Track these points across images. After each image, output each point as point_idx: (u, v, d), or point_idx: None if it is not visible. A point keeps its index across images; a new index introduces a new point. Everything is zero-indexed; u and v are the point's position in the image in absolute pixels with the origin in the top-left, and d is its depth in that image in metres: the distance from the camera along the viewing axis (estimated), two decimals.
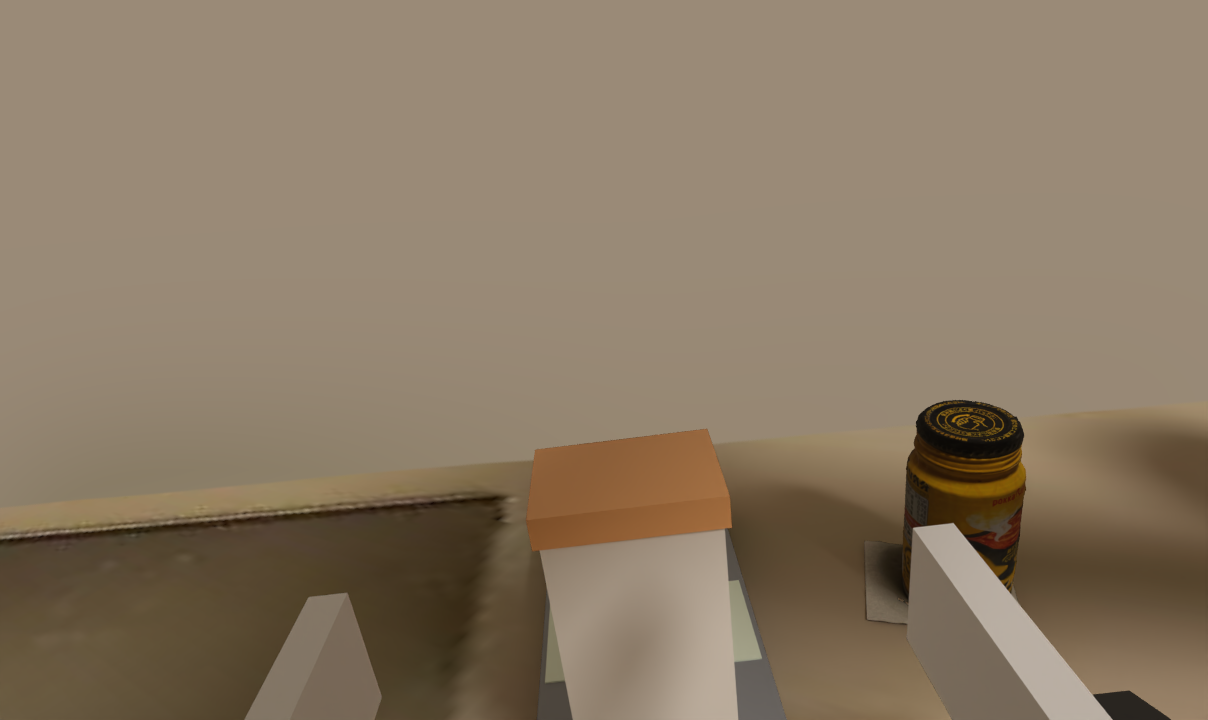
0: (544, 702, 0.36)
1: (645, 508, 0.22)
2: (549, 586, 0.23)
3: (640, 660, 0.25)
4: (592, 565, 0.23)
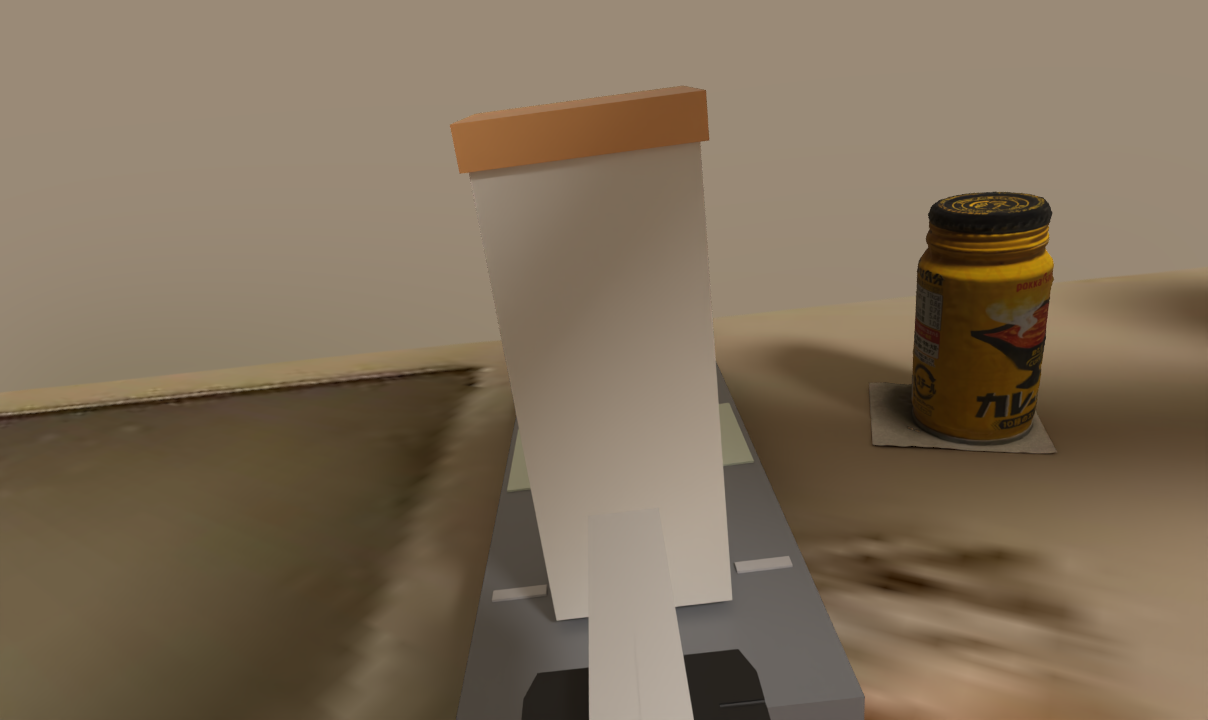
0: (505, 506, 0.31)
1: (600, 109, 0.18)
2: (484, 233, 0.19)
3: (600, 347, 0.20)
4: (537, 201, 0.19)
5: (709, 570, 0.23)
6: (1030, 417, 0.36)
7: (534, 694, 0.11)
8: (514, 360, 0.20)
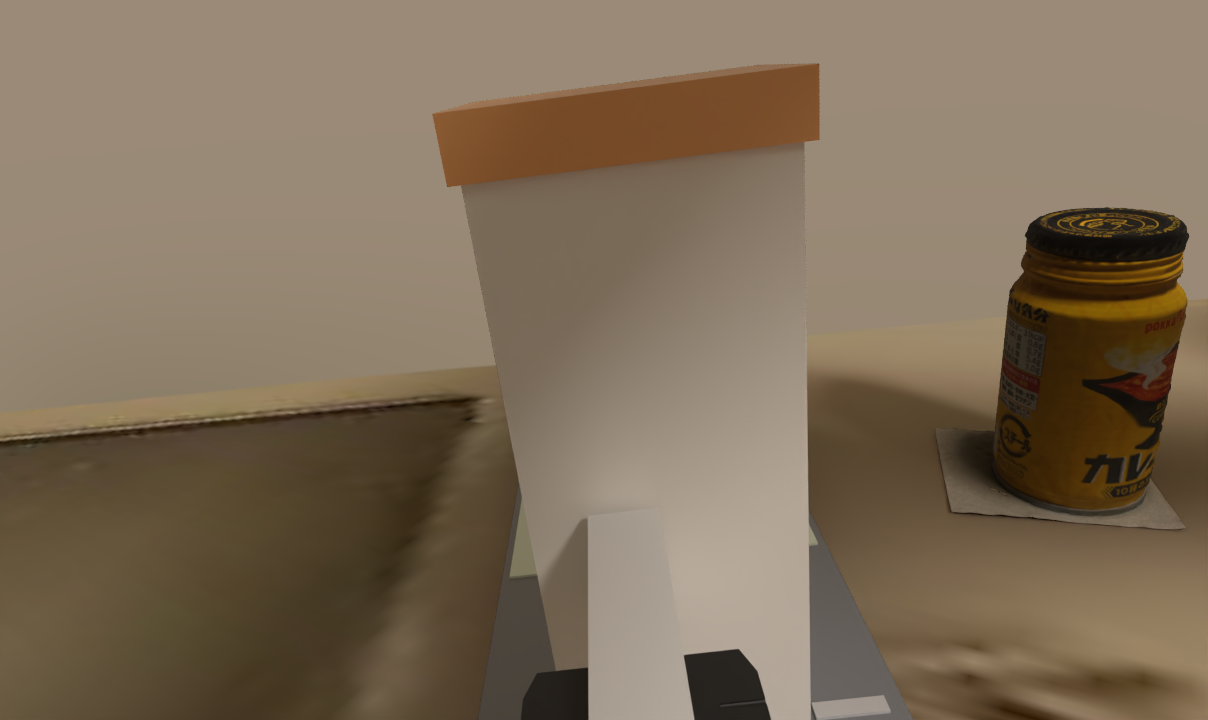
0: (507, 600, 0.25)
1: (658, 92, 0.12)
2: (483, 273, 0.13)
3: (646, 432, 0.14)
4: (560, 228, 0.13)
5: (782, 716, 0.17)
6: (1147, 482, 0.30)
7: (534, 693, 0.11)
8: (525, 448, 0.14)
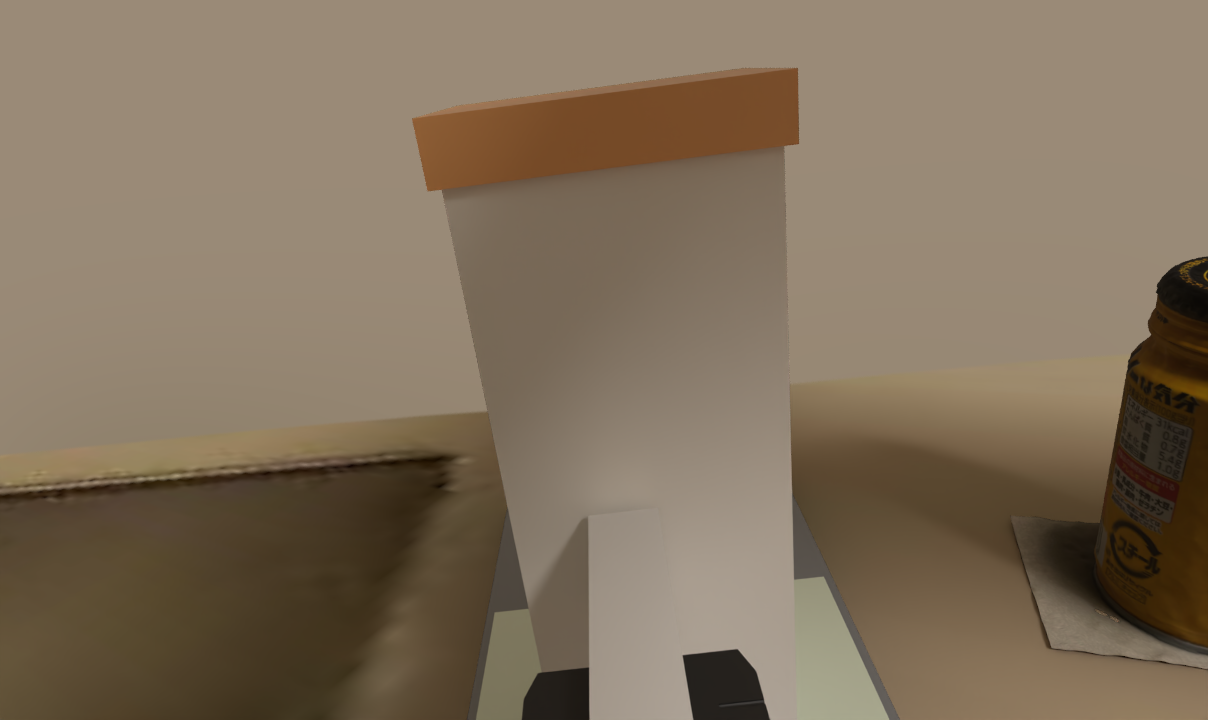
0: None
1: (637, 96, 0.12)
2: (465, 277, 0.13)
3: (629, 435, 0.14)
4: (541, 232, 0.13)
5: None
6: None
7: (534, 694, 0.11)
8: (508, 452, 0.14)
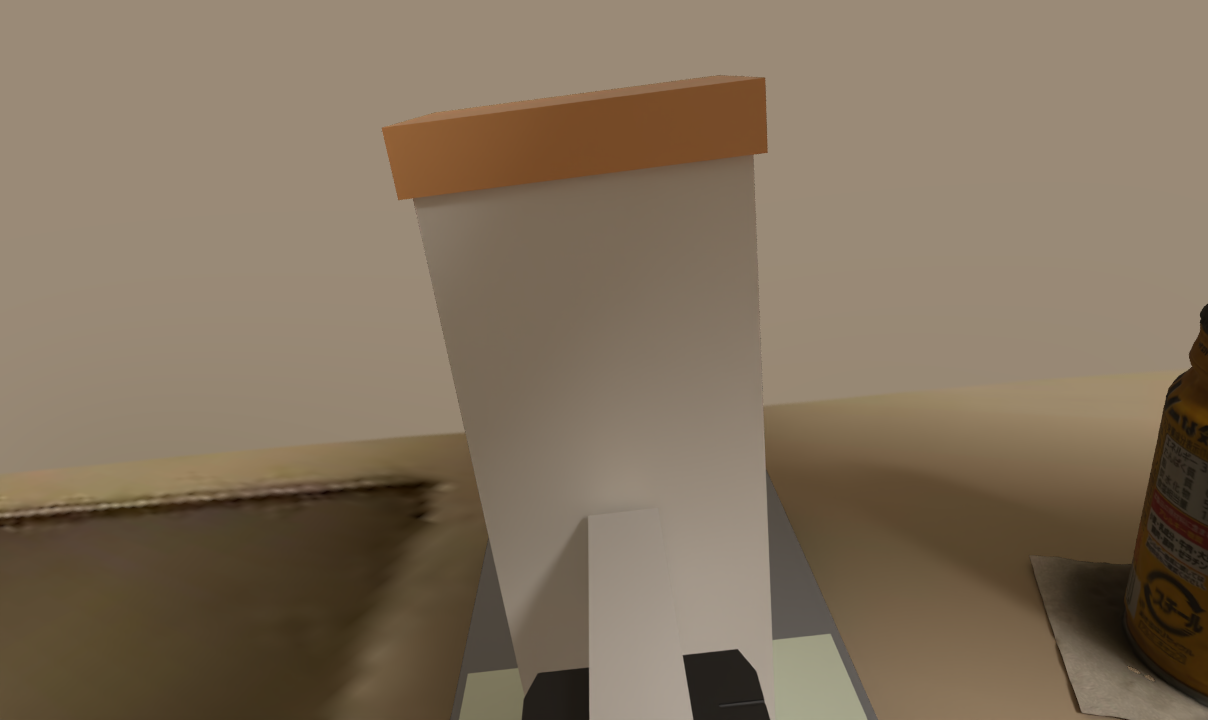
0: None
1: (606, 106, 0.12)
2: (437, 285, 0.13)
3: (604, 441, 0.14)
4: (513, 240, 0.13)
5: None
6: None
7: (535, 693, 0.11)
8: (483, 458, 0.14)
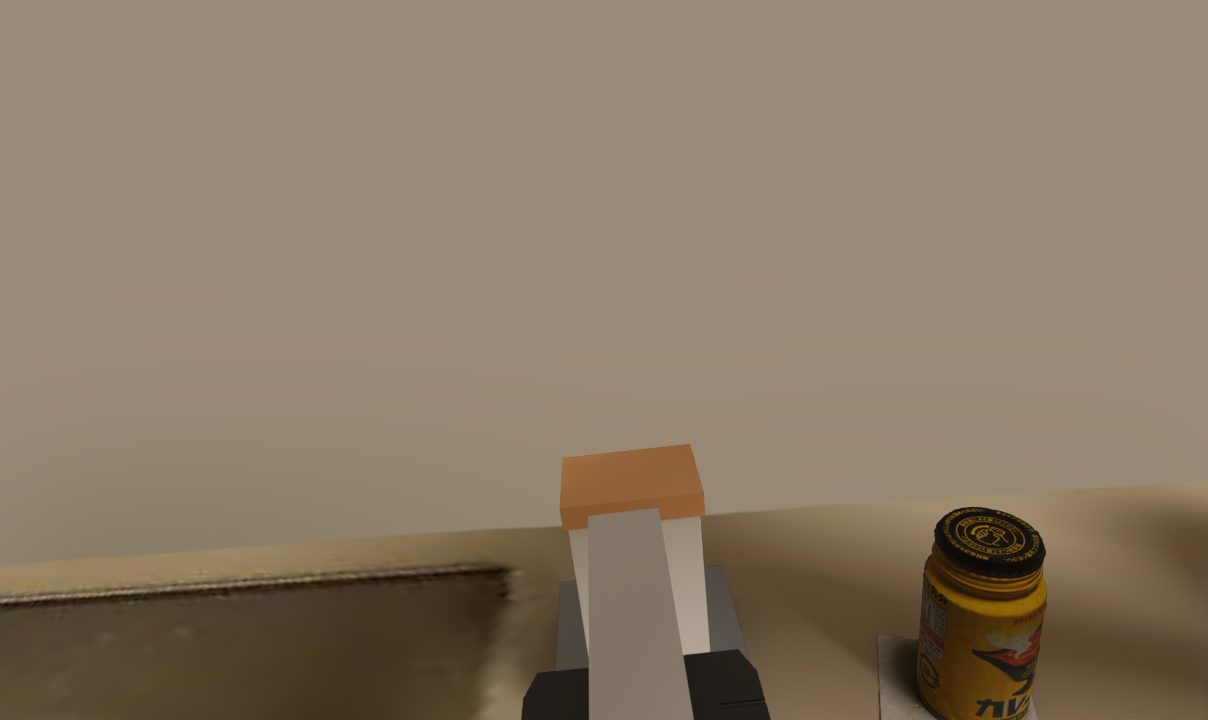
0: None
1: (644, 500, 0.31)
2: (574, 556, 0.32)
3: None
4: None
5: None
6: (1025, 712, 0.40)
7: (534, 693, 0.11)
8: (587, 619, 0.34)
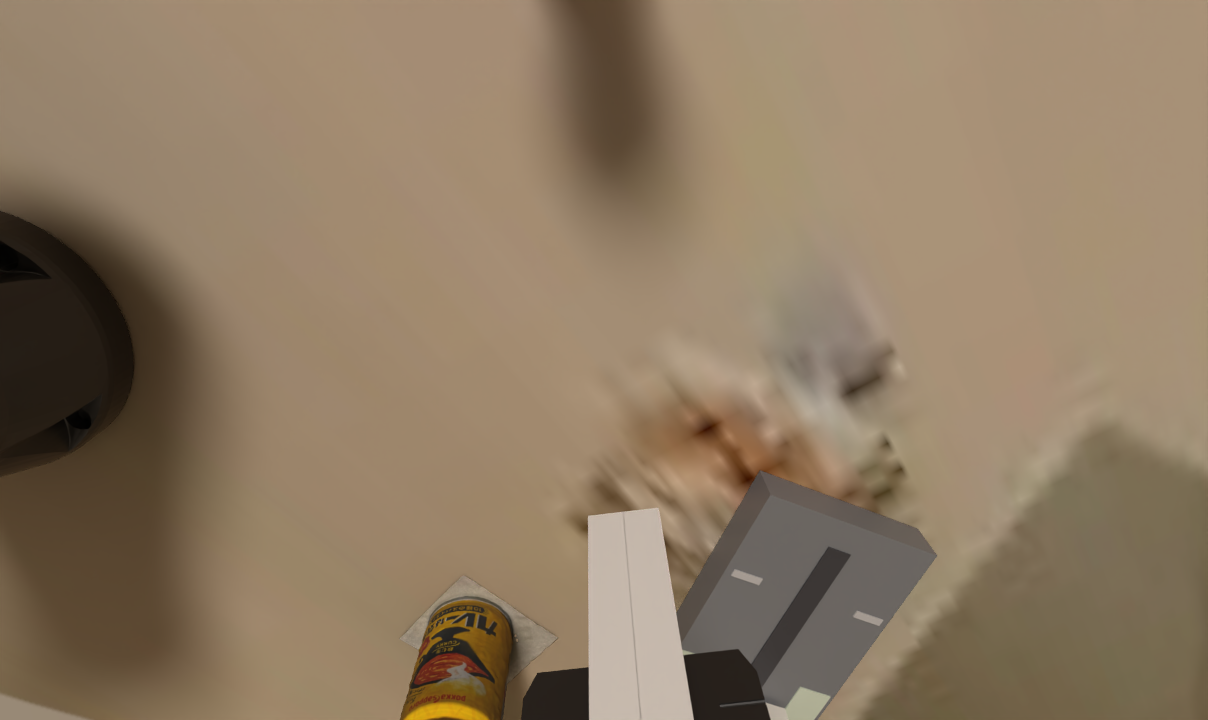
0: (838, 684, 0.49)
1: None
2: None
3: None
4: None
5: None
6: (453, 607, 0.47)
7: (534, 693, 0.11)
8: None
